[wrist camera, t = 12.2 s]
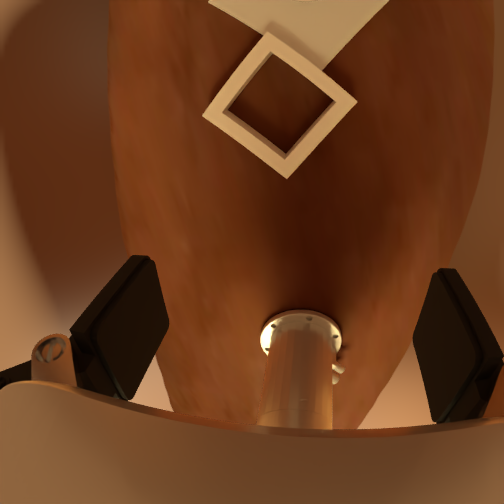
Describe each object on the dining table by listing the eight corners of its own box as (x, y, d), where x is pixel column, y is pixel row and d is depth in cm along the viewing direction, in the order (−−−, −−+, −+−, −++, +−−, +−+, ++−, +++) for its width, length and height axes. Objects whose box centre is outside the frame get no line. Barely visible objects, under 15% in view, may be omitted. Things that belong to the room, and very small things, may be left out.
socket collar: (353, 99, 28) (357, 101, 26) (288, 172, 34) (286, 179, 32) (270, 34, 26) (267, 31, 24) (208, 112, 32) (201, 116, 30)
